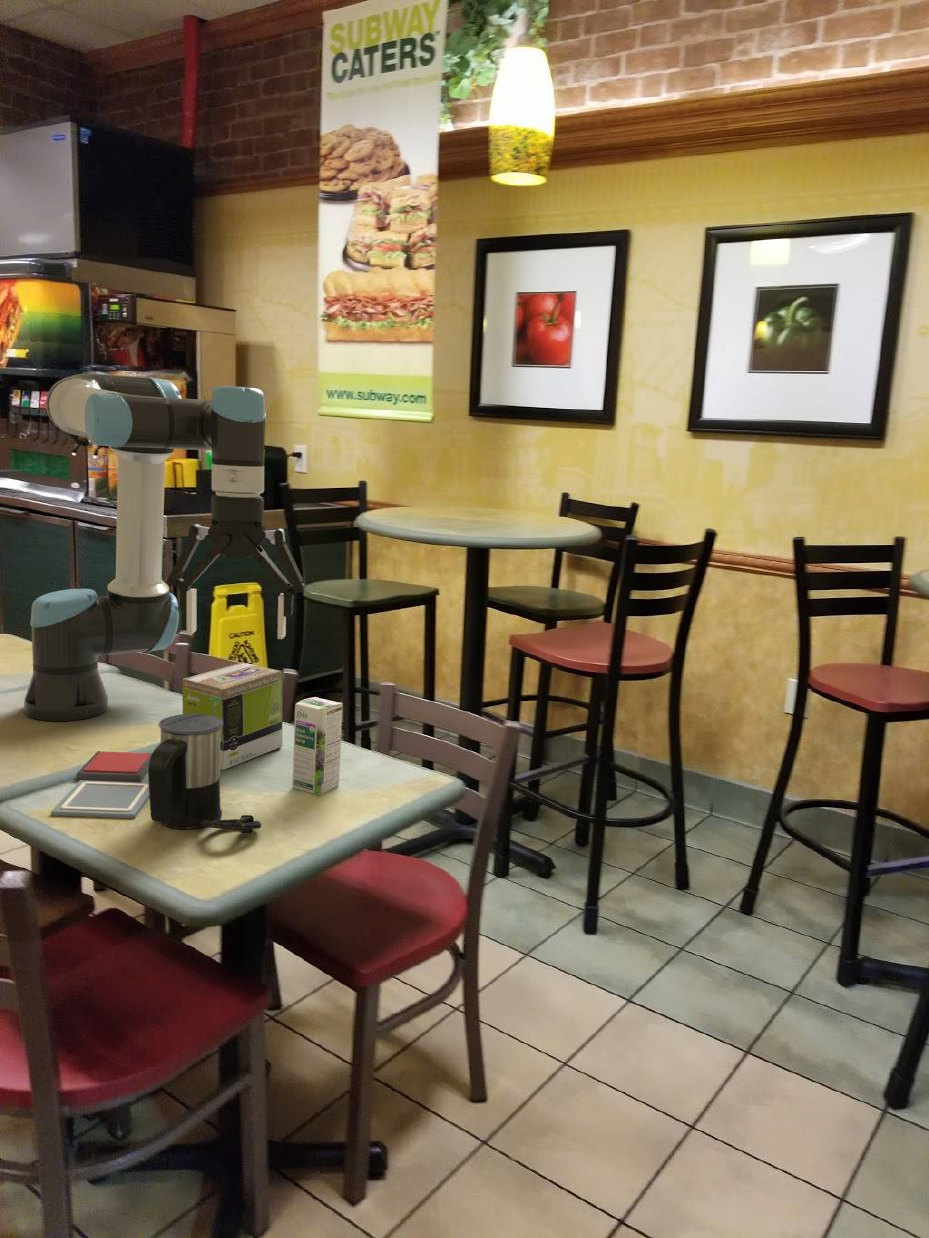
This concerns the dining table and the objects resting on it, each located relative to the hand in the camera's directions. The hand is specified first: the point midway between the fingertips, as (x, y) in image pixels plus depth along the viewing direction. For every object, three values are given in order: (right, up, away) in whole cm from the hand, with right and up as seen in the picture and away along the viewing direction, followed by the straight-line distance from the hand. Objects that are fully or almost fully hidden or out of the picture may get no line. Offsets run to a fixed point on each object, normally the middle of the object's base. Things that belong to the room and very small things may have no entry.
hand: (236, 635), depth 141 cm
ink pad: (-23, -23, +13) cm, 35 cm away
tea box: (-7, -22, +24) cm, 33 cm away
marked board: (-20, -25, +1) cm, 32 cm away
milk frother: (-3, -28, -5) cm, 29 cm away
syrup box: (+10, -25, +11) cm, 30 cm away
